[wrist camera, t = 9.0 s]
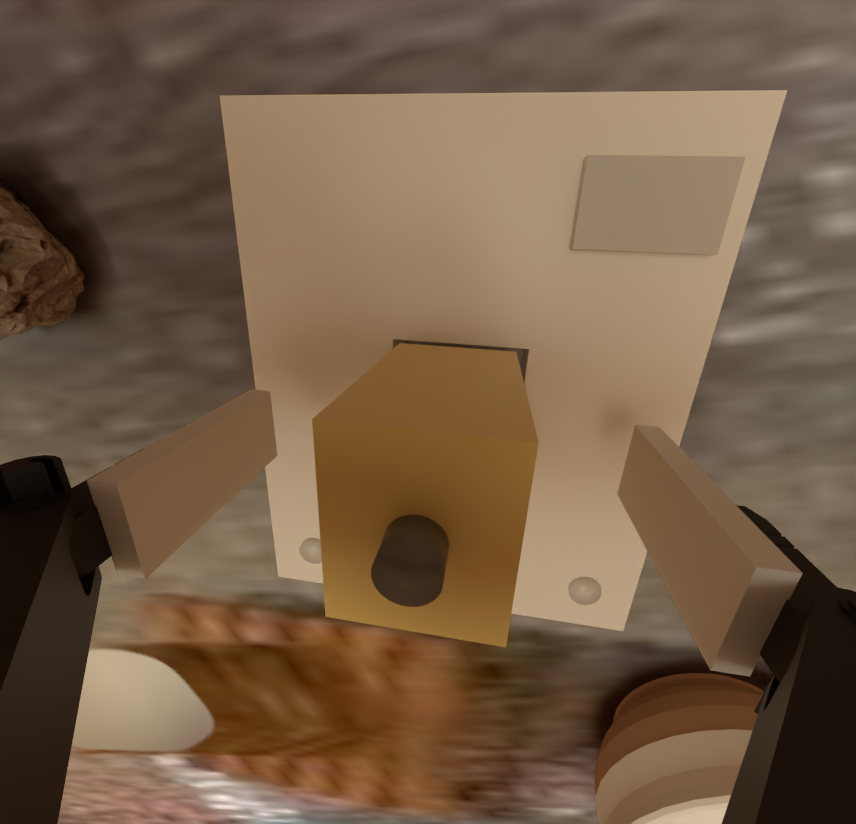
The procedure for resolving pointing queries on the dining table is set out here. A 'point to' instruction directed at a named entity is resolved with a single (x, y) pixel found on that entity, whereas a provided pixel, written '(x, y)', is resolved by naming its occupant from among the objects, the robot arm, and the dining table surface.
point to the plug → (426, 492)
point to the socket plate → (497, 282)
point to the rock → (32, 270)
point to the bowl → (675, 750)
